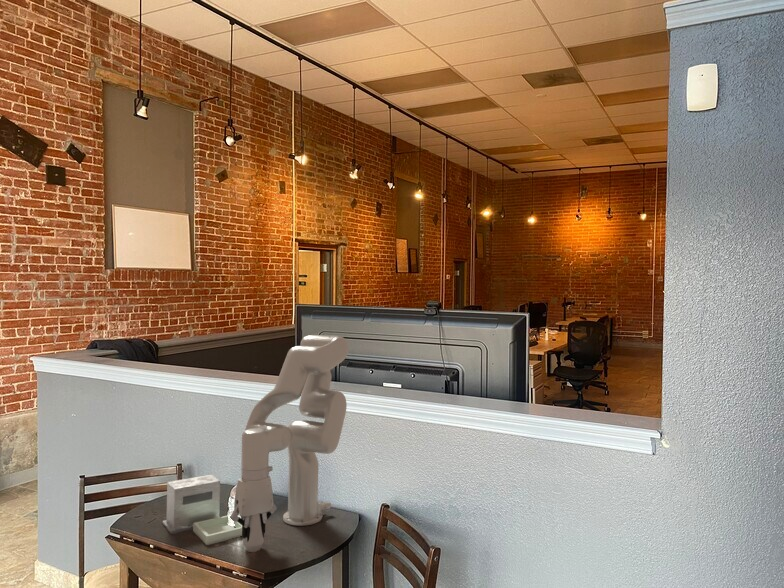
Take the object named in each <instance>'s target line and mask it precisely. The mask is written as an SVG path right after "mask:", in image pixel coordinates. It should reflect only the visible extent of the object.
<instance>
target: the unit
mask: <svg viewBox="0 0 784 588" xmlns="http://www.w3.org/2000/svg"><path fill="white" fill-rule="evenodd" d="M220 495H221V480H220V479H218V478H217V477H216V476H214V475H213V474H207V475H201V476H200V475H199V476H195V477H189V478H183V479H177V480H172V481H167V483H166V520H165V519H164V520H162V521H161V523H162V525H163V527H165V529H166V530H167V531H168V532H169V534H171V535H174V534H178V533H182V532H187V531H191V530H192V531H193V523H196V522H200V521H205V520H209V519H214V518H218V517H221V516H220V509H221V507H220V506H221V505H220V500H221V499H220V497H221V496H220Z"/></svg>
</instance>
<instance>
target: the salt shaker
mask: <svg viewBox="0 0 784 588" xmlns="http://www.w3.org/2000/svg"><path fill="white" fill-rule="evenodd" d="M248 527H250V537H249V541H248V542H247V537H246V538H243V537H242V543H243V546H244V548H245V550H246V551H247V552H249V553H256V552H260V550H261V549H262V546H263V543H264V542H265V537H264V538H263V534H262V528H261V519H260V514H257V515H252V516H250V518H249V526H248Z"/></svg>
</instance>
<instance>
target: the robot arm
mask: <svg viewBox="0 0 784 588" xmlns="http://www.w3.org/2000/svg"><path fill="white" fill-rule="evenodd" d="M349 349H350V346H349V343H348V341H347V339H346V338H344V337H342V336H339V335H325V334H324V335H321V334H311V335H305V336H304V337H303V338H302V339H301V340H300V345H296V346H293V347H291V348H290V349H288V351H287V354H286V356H285V359H284V362H283V364H282V368H281V369H280V373H279V375H278V378H277V381H276V383H275V386H274V388H273V389H272V390H270V391H269V392H267V394H265V395H264V396H263V397H261V399H260V400H259V401H258V402H257V403H256V404H255V406H254V407H253V409H251V412H250V415H249V418H248V420H247V422H246V426H245V429H244V431H243V432H242V434H241V469H240V471H241V472H240V477H239V478H238V479H237V483H236V488H235V495H234V504H233V511H232V512H231V514H230V515H231V516H230V518H231V519H232V520H233V521H236V522H239V523H240V524H241V525H242V537H241V538H242V539H243V538H246V537H247V542H248V541H249V537H250V527H248V526H249V518H250V516H252V515H257V514H260V519H261V528H262V534H263V538H264V539H265V533H266V524H267V522H268V520H269V518H270V517H271V516H272V515H273V514H274V513H275V512H276V511H277V509H278V507H277V506H276V504H275V502H274V496H273V495H274V494H273V485H272V478H271V476H270V472H273V466H270V465H269V461H270V459H269V457H270V456H269V454H270V453H273V452H279V451H280V452H281V451H283V450H285V449H287V452H288V490H287V493H288V494H287V511H286V512H285V513H283V515H282V521H283V522H284V523H285V524H288V525H291V526H297V527H298V526H310V525H311V526H312V525H315V524H317V523H319V522H321V520H322V519H323V513H322V512H323V510H327V509H330V508H332V504H331V502H330V501H327V502H324V501H319V460H318V457H317V455H316V454H324V455H330V454H332V453H334V452H335V451H336V449H337V447H338V445H339V443H340V439H341V436H342V435H341V434H342V430H343V426H344V423H345V418H346V413H347V412H346V411H347V404H348V403H347V399H346V396H345V394H344V393H343V392H341V391H339V390H333V389H330V387H331V382H332V377H333V376H332V372H331V370H332V369H334V368H335V367H337V366H338V365H339V364H341V363H342V362H343V361H344V360H345V359H346V358H347V356H348V355H349V351H350V350H349ZM299 399H300V400H299ZM298 400H299V404H298V410H299V413H300V414H301V415H302V416H305V417H307V418H313V419H320V420H322V419H323V420H324V421H323V422H321V421H314V420H305V419H301V420H300V419H297V420H295V421H292V422H291V423H290V424H289V425H288V426H286V425H284V424H278V423H272V422H267V421H268V420H267V419H268V418H269V416H270V415H271V414H272V413H273V412H274V411H275V410H277V409H279V408H280V407H282V406H285V405H287V404H290V403H293V402H296V401H298Z"/></svg>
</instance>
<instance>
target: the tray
mask: <svg viewBox="0 0 784 588" xmlns="http://www.w3.org/2000/svg"><path fill="white" fill-rule="evenodd" d="M228 515H229V514H228ZM228 515H223V516H220V517H218V518H214V519H209V520H205V521H200V522H196V523H193V529H192V532H193V533H194V534H195V535H196V536H197V537H198V538H199V539H200V541H202V542H203V544H205V546H210V545H213V544H218V543H220V542H225V541H226V542H227V541H229V539H230V540H233V539H232V538H234V539H237V538H236V537H238V538H241V537H240V536H242V525H241V524H240V523H239V522H236V521H234V524H235V527H236V528H234V527H230V526H228V524H227V522H228Z"/></svg>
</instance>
